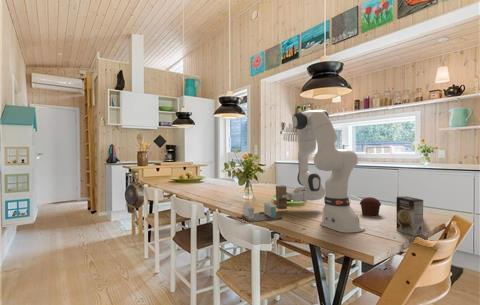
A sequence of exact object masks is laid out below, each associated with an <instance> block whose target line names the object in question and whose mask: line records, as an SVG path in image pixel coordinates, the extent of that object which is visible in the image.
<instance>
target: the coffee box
mask: <svg viewBox="0 0 480 305" xmlns="http://www.w3.org/2000/svg"><path fill="white" fill-rule="evenodd" d="M396 231H397V232H402V233H404V234H406V235H410V236H413V237H415V236H421V235H424V199H421V198H417V197H416V198H415V197H412V196H411V197H410V196H405V195H404V196H397V197H396Z"/></svg>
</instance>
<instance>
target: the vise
mask: <svg viewBox="0 0 480 305" xmlns="http://www.w3.org/2000/svg"><path fill="white" fill-rule="evenodd" d="M242 206H243V207H242V208H243V213H242V214H241V216H242V217H243V218H244V219H245V220H246V221H247V222H248V223H253V222H255V223H256V222H265V221H277V220H278V221H279V220H283V217H282V216H280V217H277V216H276V218H271V217H268V218H266V216H264V214H265V213H264V211H259V212H256V213H255V208H254V207H253V206H252V205H250V204H249V203H244V204H242ZM265 215H266V214H265Z"/></svg>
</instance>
